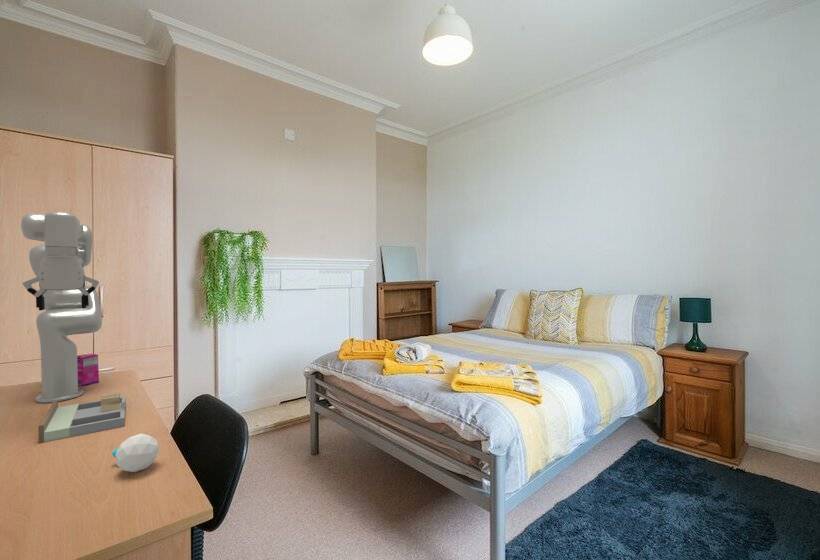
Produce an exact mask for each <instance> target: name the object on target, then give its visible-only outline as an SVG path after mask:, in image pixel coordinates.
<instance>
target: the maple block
mask: <svg viewBox="0 0 820 560" xmlns="http://www.w3.org/2000/svg"><path fill="white" fill-rule="evenodd" d="M120 397H121V392H116V393H108V394H103V395H101V397H100V400H101V412H107V411H112V410H118V409H120Z"/></svg>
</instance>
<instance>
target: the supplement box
mask: <svg viewBox="0 0 820 560" xmlns="http://www.w3.org/2000/svg"><path fill="white" fill-rule="evenodd" d="M77 369H78V386H82V387H85V386H89V385H93V384H96V383H97V384H98V383H100V377H99V375H100V373H99V355H98V354H95V353H90V352H89V353H84V354H81V355H77Z"/></svg>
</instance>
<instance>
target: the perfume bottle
mask: <svg viewBox="0 0 820 560" xmlns="http://www.w3.org/2000/svg"><path fill="white" fill-rule="evenodd" d="M159 451H160V448H159V442H158V440H157V439H156V438H155V437H153V436H151V435H148V434H145V433H142V432H141V433H138V434H135V435H132V436H129V437H128V438H126V439H125V440H124V441H123V442H121V443H120V445H119V447H118V448H115V449H114V450H113V451H112V452H111V453H112V456H113V457H114V458H115V462H116V466H118V467H119V468H121V469H122V470H123V471H124V472H130V473H137V472H139V471H142V470H146V469H147V468H148V467H150V465H152V464H153V463H154V462H155V461H156V459H157V456H158V453H159Z"/></svg>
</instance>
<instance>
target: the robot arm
mask: <svg viewBox="0 0 820 560" xmlns="http://www.w3.org/2000/svg"><path fill="white" fill-rule="evenodd" d="M20 229H21V232H22V235H23V237H24V238H26V239H27V240H33V241H39V242H44V244H40V245H36V246H33V247H32V248H30V250H29V253H28V254H29V255H28V257H29V263H30V267H31V270H32V272H33V273H34V275H35V276H36V277H34V278H31V279H29V280H26V281H23V282H22V285H23V287H24V288H25V289H26V291H27V292H28V293H30V294H31V295H33V296H34V297H35V304H36V305H35V306H36V308H37V309H38V311H42V312H40V313H39V314H38V315H37V317H36V320H35V321H36V322H35V323H36V328H37V331H38V332H37V333H38V338H39V343H40V369H41V370H40V375H41V376H40V377H41V393H40V394H38V396H36V397H35V402H37V403H39V404H40V403H42V404H44V403H46V404H47V403H53V401H58V402H62V401H67V400H71V399H75V398H77V397H80V396H82V395H83V394H84V389H82V388H79V385H78V369H77V356H78V346H77V344H76V343H75V342H74V341H73V340H71V339H70V338H69V337H68V336H72V335H82V334H83V335H84V334H93V333H96V332H99V331H100V330H101V328H102V323H103V322H102V321H103V317H102V312H101V306H100V299H99V295H98V292H97V290H96V289H97V287H98V286H99V285H100V281H99V280H97V279H94V278H91V277H89V276H86V275H85V274H86V273H85V267H87V266H89V265H90V263H91V261H92V252H93V237H94V236H93V232H92V229H91V228H90V227H89V226H88V225H86V224H84V223H83V222H81V220H80V219H79V218H78V217H77V216H76V215H75V214H73V213H69V212H61V211H52V212H47V213H26V214H24V215H23V217H22V218H21V222H20ZM86 282H88V283H91V285H90V286H89V285H86ZM36 283H38V286H39V289H38V290H37V289H35V288H34V287H33V286H32V285H33V284H36Z"/></svg>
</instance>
